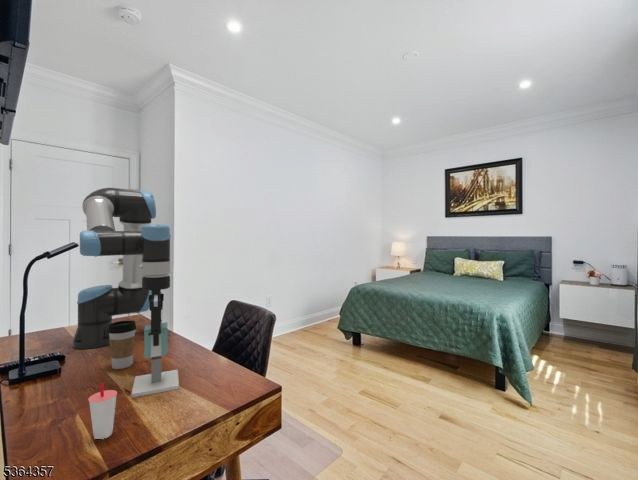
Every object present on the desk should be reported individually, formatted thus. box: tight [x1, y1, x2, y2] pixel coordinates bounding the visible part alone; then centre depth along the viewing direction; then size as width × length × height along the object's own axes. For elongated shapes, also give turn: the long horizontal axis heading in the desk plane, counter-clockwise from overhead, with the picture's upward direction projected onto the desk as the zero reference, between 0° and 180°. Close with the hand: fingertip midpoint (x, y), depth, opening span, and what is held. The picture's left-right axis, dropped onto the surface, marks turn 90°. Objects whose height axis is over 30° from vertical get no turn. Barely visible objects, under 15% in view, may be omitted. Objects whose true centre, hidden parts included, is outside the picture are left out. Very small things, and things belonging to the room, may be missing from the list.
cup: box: [87, 382, 118, 440], centre depth 70 cm, size 5×5×12 cm
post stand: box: [131, 356, 180, 399], centre depth 94 cm, size 12×12×8 cm
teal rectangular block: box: [143, 322, 168, 359], centre depth 94 cm, size 6×6×8 cm
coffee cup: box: [108, 320, 137, 370], centre depth 108 cm, size 8×8×15 cm
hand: (156, 352), depth 94 cm, fingers closed on teal rectangular block, 6 cm apart
